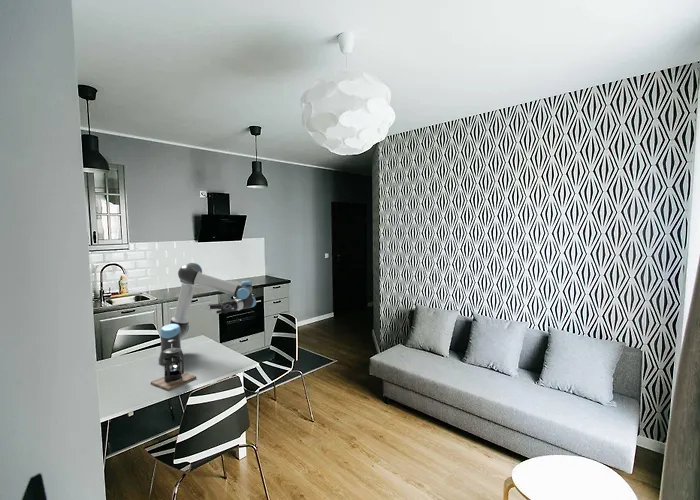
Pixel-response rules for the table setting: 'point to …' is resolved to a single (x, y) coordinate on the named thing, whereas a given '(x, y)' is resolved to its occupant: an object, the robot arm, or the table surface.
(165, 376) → the french press
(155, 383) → the board
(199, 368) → the table surface
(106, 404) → the table surface
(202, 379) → the table surface
